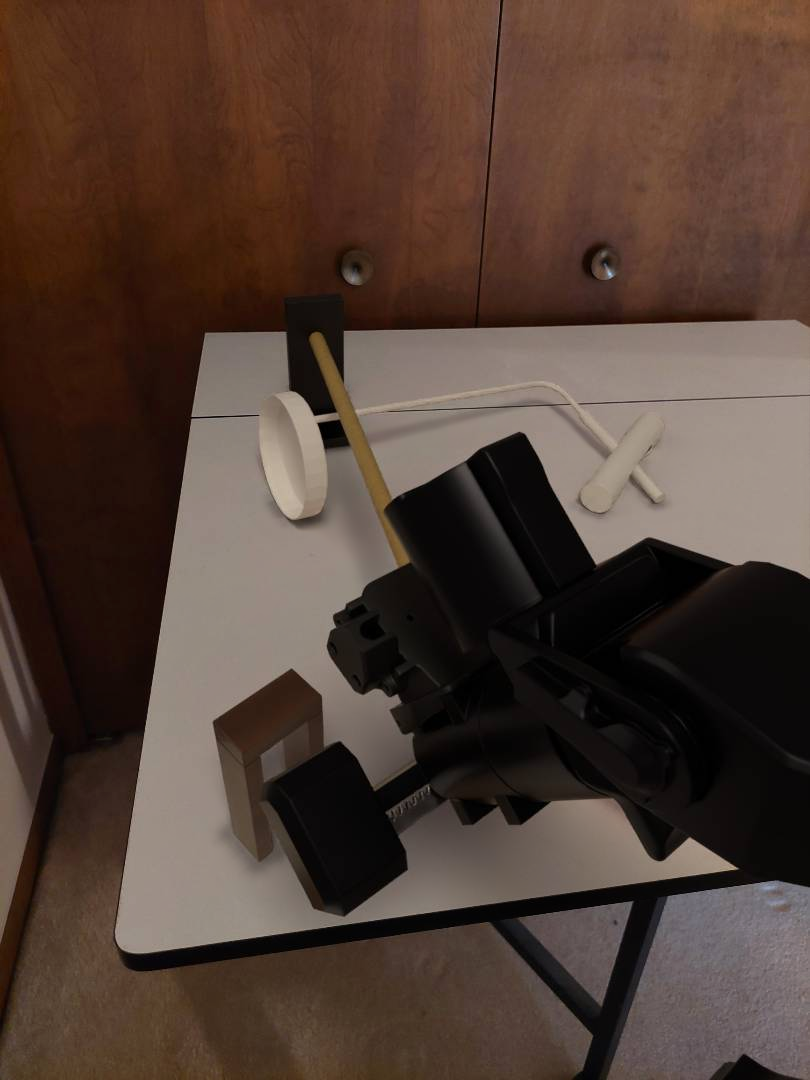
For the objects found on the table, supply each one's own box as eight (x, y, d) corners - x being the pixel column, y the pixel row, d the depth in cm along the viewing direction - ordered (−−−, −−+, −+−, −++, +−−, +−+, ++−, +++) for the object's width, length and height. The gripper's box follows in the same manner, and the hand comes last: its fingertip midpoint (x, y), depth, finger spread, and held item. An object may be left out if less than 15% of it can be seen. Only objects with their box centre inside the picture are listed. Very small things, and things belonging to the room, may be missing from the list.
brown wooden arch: (326, 807, 58) (322, 695, 49) (259, 862, 54) (242, 753, 46) (300, 780, 59) (291, 667, 50) (232, 832, 56) (211, 721, 47)
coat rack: (476, 734, 63) (502, 587, 52) (377, 755, 61) (384, 608, 50) (344, 407, 97) (343, 279, 87) (278, 414, 96) (269, 284, 85)
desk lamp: (359, 531, 65) (742, 441, 85) (262, 368, 77) (616, 322, 97) (339, 623, 74) (690, 522, 93) (255, 463, 86) (580, 404, 106)
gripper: (597, 470, 37) (450, 566, 51) (238, 651, 28) (176, 708, 41) (722, 684, 36) (538, 723, 49) (392, 945, 27) (276, 906, 40)
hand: (394, 756), depth 45 cm, fingers open, 9 cm apart
